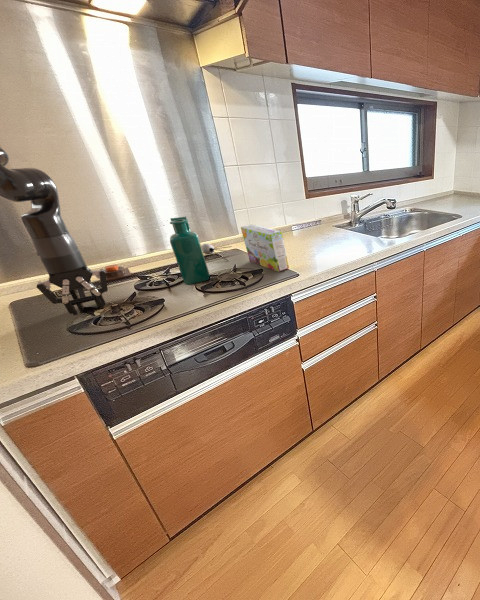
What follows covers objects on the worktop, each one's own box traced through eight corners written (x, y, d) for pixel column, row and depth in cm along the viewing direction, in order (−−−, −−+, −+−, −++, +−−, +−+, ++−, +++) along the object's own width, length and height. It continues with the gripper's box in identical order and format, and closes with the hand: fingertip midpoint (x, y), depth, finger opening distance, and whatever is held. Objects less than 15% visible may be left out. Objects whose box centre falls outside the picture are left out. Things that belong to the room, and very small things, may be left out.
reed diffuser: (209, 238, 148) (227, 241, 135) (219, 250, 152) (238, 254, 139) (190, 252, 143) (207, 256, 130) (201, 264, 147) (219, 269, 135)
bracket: (113, 312, 97) (95, 272, 92) (73, 322, 92) (51, 281, 86) (110, 301, 104) (93, 264, 98) (73, 311, 99) (52, 272, 93)
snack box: (248, 262, 136) (239, 226, 129) (260, 258, 140) (252, 223, 133) (277, 272, 124) (269, 233, 117) (290, 268, 128) (283, 230, 121)
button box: (133, 280, 120) (129, 270, 119) (102, 287, 115) (97, 276, 113) (129, 272, 128) (125, 263, 126) (100, 279, 122) (95, 269, 120)
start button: (119, 270, 120) (117, 266, 119) (107, 273, 117) (105, 268, 117) (118, 268, 122) (116, 263, 121) (106, 270, 120) (104, 266, 119)
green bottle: (211, 280, 118) (193, 220, 109) (184, 285, 114) (163, 223, 105) (209, 272, 126) (191, 215, 116) (184, 277, 122) (163, 218, 112)
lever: (97, 301, 91) (94, 295, 89) (73, 307, 88) (70, 301, 86) (88, 276, 96) (85, 269, 94) (65, 280, 93) (61, 274, 91)
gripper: (94, 243, 90) (119, 298, 97) (20, 255, 81) (54, 315, 89) (96, 248, 85) (122, 306, 92) (17, 262, 76) (53, 324, 84)
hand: (88, 310), depth 90 cm, fingers closed on lever, 5 cm apart
